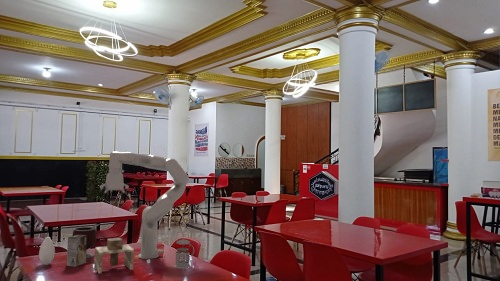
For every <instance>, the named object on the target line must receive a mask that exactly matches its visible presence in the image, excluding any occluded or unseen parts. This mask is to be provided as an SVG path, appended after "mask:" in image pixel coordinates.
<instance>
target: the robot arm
mask: <svg viewBox="0 0 500 281" xmlns="http://www.w3.org/2000/svg"><path fill="white" fill-rule="evenodd" d="M108 163H109V165H108V166H109V167H108V173H107V174H106V179H105V183H103V184H101V185H100V186H99V188H100V190H101V191H102V192H103V199H104V200H108V192H109V191H121V193H120V200H124V198H125V193H126V192H127V191H128V189H129V185H128V184H126V183H124V174H123V173H124V172H125V170H124V169H123V164H127V165H131V166H132V165H133V166H140V167H144V168H147V169H152V170H158V171H165V172H168V173H169V175H170V177H171V178H172V179H173V184H172V186H171V187H170V188H169V189H168V190H167V191H166V192H165V193H163V194H162V195H161V196H159V197H158V198H157V200H156V202H155V203H153V205H151V206H150V205H149V206H146V207H145V208H144V209H143V211H142V214H141V241H140V242H141V243H140V244H141V245H140V253H139V254H138V255H137V257H138V259H140V260H141V259H144V260H152V259H157V258H159V256H160V255H159V254H163V253H165V250H164V249H159V248H157V246H158V245H157V244H158V239H157V238H158V222H159V221H160V220H161V219H162V218H164V217H165V216H166V215H167V214H168V213H170V211H171V210H172V209H173V207H174V203H176V202H177V200H178V199H180V198H181V197H182V196H183V195H184V192H185V190H186V187H187V184H188V183H189V179H190V178H189V174H187V173H186V171H185V170H184V168H183V167H182V166H181V164H179V162H178V161H177V160H176V159H175V158H169V157H164V156H159V155H158V156H157V155H153V154H152V155H151V154H141V153H133V152H131V151H126V152H122V151H111V152H109V161H108ZM124 187H125V188H124ZM104 188H105V189H104Z"/></svg>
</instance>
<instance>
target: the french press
mask: <svg viewBox="0 0 500 281" xmlns="http://www.w3.org/2000/svg"><path fill="white" fill-rule="evenodd" d="M182 226H186V222H182ZM184 234H185V231H183V236H182V237H183V239H179V240H177V241H176V244H178V245H181V246H185V245H188V247H189V248H191V247H192V249H193V251H192V253H191V255H190V249H189V248H187V247H180V248H178V247H177V249H176V251H175V264H174V266H173V268H175V269H188V267H189V268H191V267H190V265H191V264H190V261H191V260H190V259H191V258H192V257H193V256H194V254H195V247H194V246H193V245H192V244H191V241H189V240H187V239H184V238H185V237H184V236H185V235H184Z"/></svg>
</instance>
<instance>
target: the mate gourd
mask: <svg viewBox="0 0 500 281" xmlns="http://www.w3.org/2000/svg"><path fill="white" fill-rule="evenodd" d="M98 226H100V223H98V224H95V225H94V226H82V227H74V228H73V231H72V236H75V235H87V248H86V259H89V258H93V257H95V253H91V252H87V251H88V250H90V249H92V248H93V247H94V246H95V245H96V242H97V228H96V227H98Z"/></svg>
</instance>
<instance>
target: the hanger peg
mask: <svg viewBox="0 0 500 281" xmlns="http://www.w3.org/2000/svg"><path fill="white" fill-rule="evenodd" d="M106 240H107V242H106V246H107V248H108V249H109V250H118V249H122V248H123V245H124V244H123V243H124V240H123V239H122V238H121V237H113V238H107V239H106ZM109 256H110V258H109V266H111V267H114V266H118V265H119V253H110V254H109Z"/></svg>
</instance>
